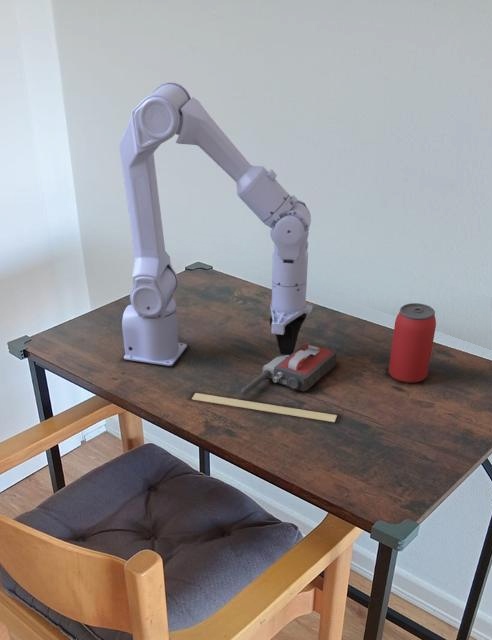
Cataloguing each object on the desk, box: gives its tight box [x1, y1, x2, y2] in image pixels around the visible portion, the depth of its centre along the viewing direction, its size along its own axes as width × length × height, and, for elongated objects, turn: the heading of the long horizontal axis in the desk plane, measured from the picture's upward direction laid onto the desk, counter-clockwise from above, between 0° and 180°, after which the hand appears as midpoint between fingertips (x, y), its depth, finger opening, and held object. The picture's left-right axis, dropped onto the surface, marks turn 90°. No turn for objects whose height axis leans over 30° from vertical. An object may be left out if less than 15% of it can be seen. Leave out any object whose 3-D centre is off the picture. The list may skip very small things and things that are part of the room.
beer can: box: [388, 302, 437, 384], centre depth 125 cm, size 7×7×12 cm
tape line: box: [191, 392, 338, 423], centre depth 122 cm, size 24×2×1 cm, turn 71°
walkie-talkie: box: [240, 341, 338, 396], centre depth 127 cm, size 9×4×20 cm
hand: (286, 353), depth 132 cm, fingers closed, pressing on walkie-talkie
